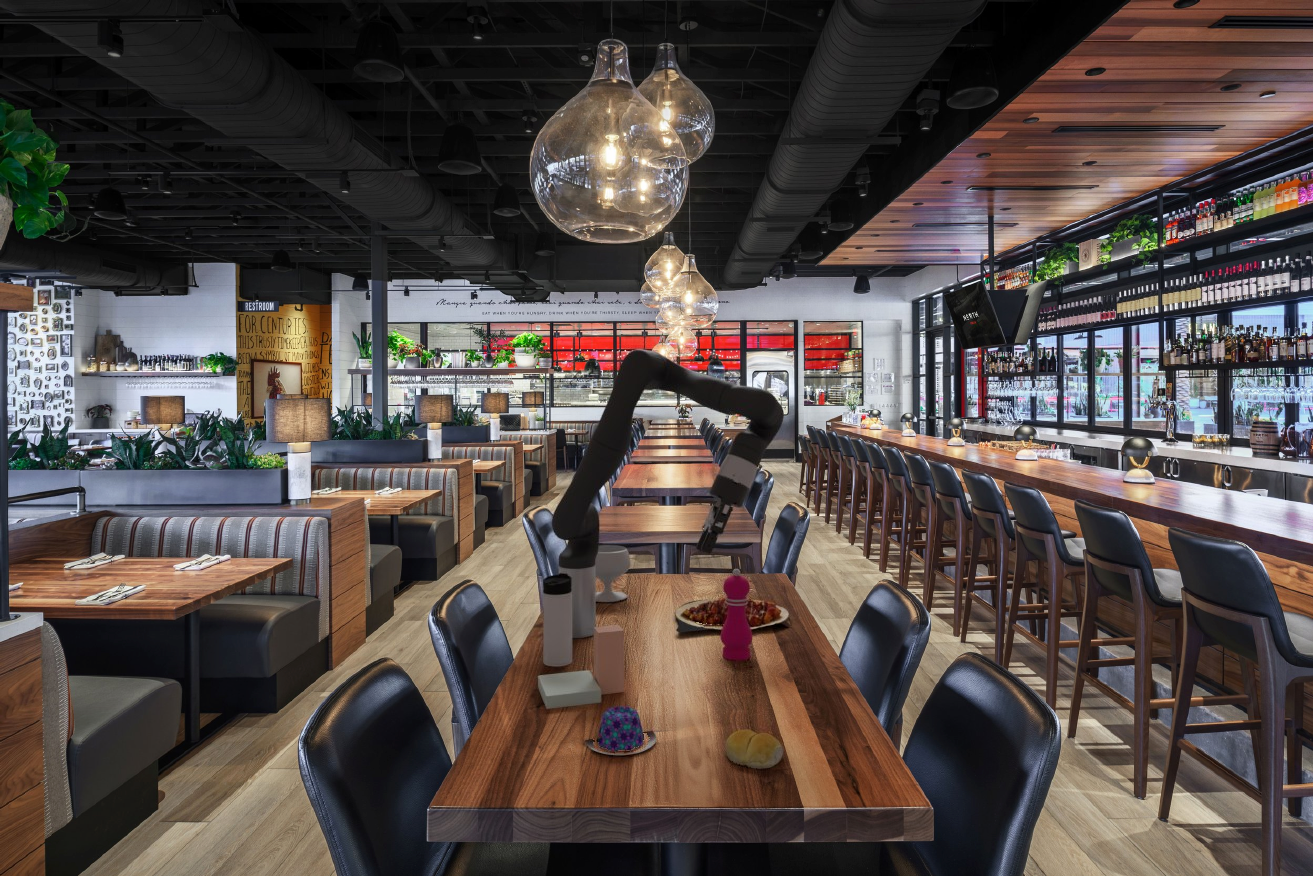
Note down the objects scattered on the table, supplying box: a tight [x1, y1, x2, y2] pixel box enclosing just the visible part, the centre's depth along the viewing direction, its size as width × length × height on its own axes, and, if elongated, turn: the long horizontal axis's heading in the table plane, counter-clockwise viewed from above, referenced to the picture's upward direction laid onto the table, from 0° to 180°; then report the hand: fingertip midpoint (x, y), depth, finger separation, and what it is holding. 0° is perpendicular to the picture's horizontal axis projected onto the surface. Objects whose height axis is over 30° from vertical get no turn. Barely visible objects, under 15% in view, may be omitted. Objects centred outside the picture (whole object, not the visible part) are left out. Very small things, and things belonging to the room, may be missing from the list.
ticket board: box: [537, 669, 602, 710], centre depth 141 cm, size 32×12×4 cm, turn 107°
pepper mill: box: [720, 568, 753, 662], centre depth 165 cm, size 7×7×20 cm
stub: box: [593, 624, 625, 696], centre depth 141 cm, size 5×4×12 cm
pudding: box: [584, 705, 657, 756], centre depth 122 cm, size 12×12×5 cm
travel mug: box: [542, 573, 573, 667], centre depth 158 cm, size 6×7×20 cm
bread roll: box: [725, 728, 784, 770], centre depth 116 cm, size 8×9×4 cm
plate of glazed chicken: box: [674, 597, 791, 633], centre depth 194 cm, size 31×35×7 cm
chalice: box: [595, 544, 632, 603], centre depth 217 cm, size 14×14×15 cm
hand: (702, 551), depth 151 cm, fingers open, 8 cm apart
